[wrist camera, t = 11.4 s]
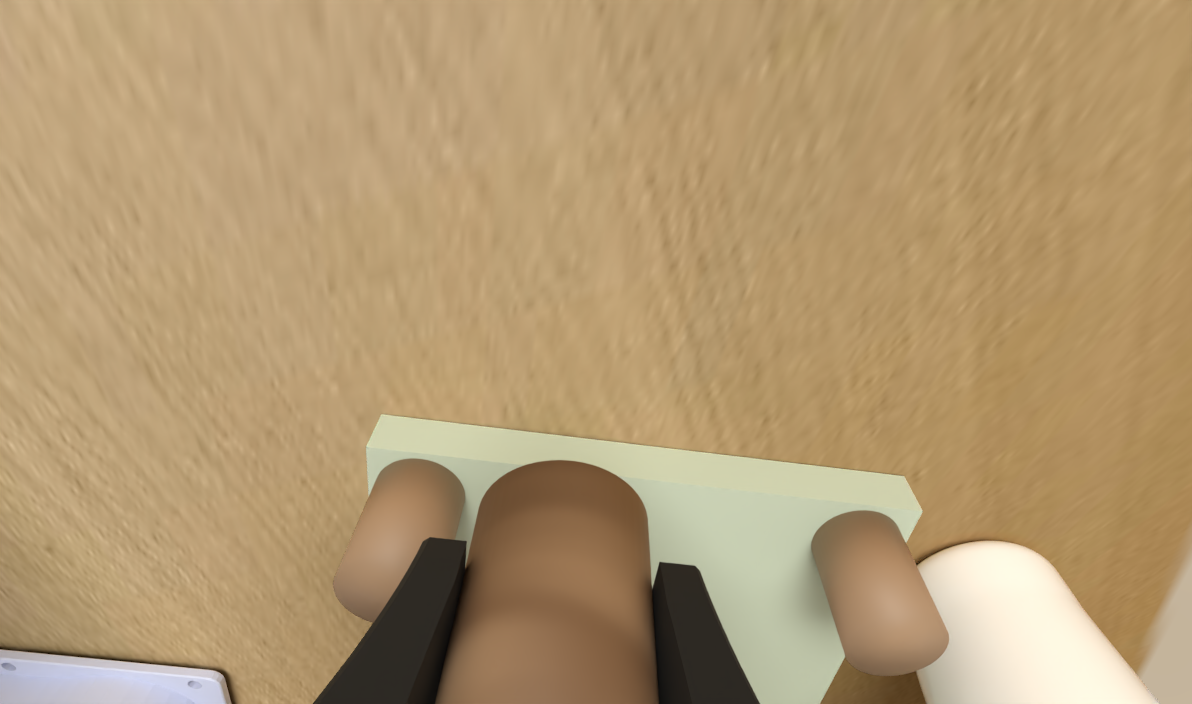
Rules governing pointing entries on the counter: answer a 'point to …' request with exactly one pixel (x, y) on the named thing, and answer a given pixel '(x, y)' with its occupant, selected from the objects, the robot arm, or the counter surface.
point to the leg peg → (555, 594)
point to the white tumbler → (1017, 634)
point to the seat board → (686, 543)
